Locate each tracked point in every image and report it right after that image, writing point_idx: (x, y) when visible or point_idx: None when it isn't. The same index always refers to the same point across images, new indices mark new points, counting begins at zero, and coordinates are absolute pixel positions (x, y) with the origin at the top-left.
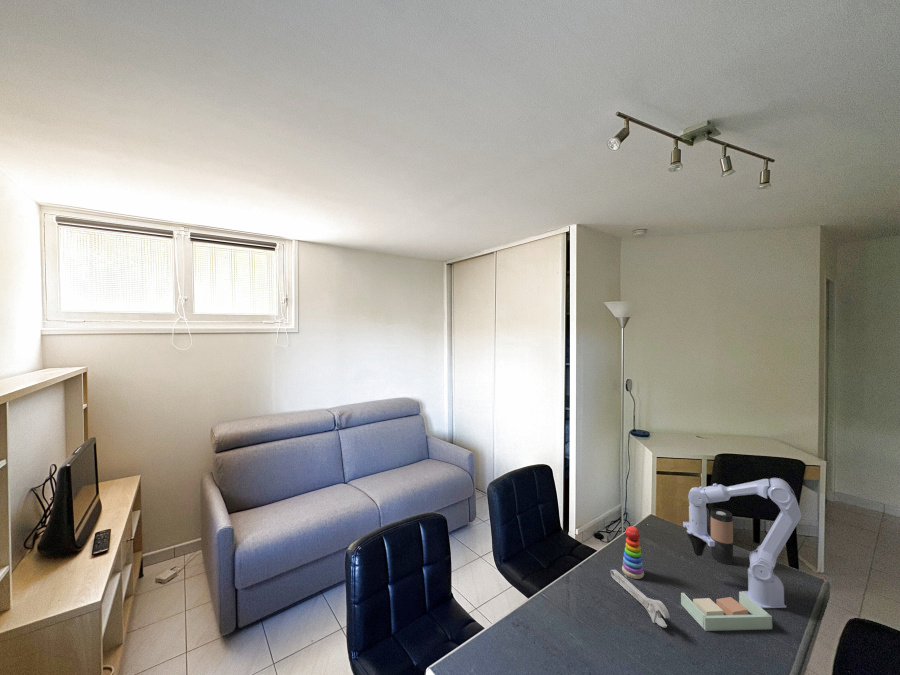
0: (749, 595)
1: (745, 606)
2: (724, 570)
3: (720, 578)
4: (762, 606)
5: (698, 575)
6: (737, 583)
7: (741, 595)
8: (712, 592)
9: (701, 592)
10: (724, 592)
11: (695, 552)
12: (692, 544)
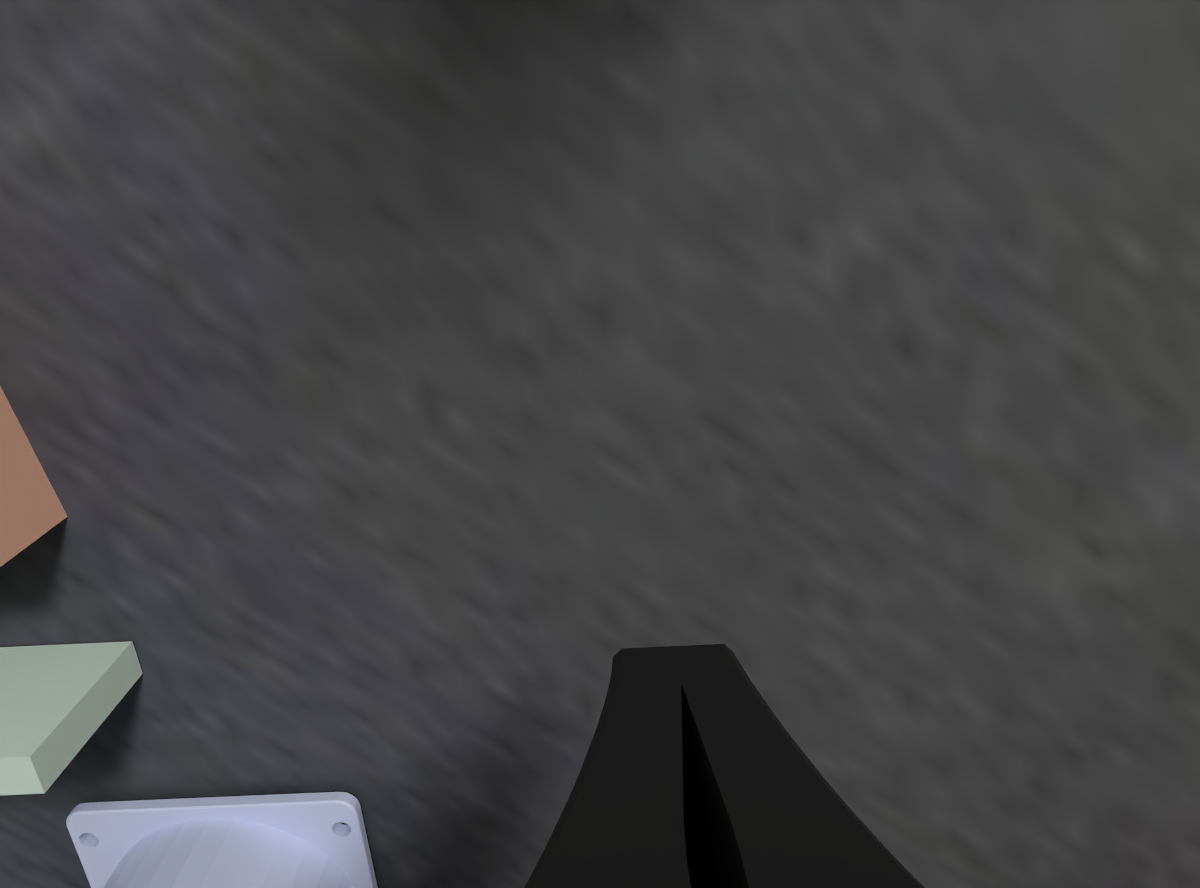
0: (242, 834)
1: (11, 662)
2: None
3: None
4: (101, 839)
5: (722, 480)
6: None
7: (6, 736)
8: (308, 431)
9: (278, 251)
10: (335, 597)
11: (667, 679)
12: (842, 852)
